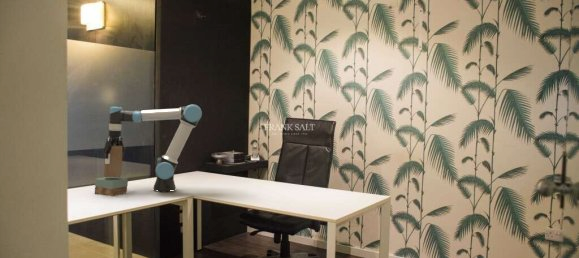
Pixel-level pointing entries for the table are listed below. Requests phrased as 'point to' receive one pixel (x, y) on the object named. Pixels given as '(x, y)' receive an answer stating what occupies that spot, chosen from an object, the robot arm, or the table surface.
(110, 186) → the tower top
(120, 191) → the tower base
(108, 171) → the block
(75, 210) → the table surface
